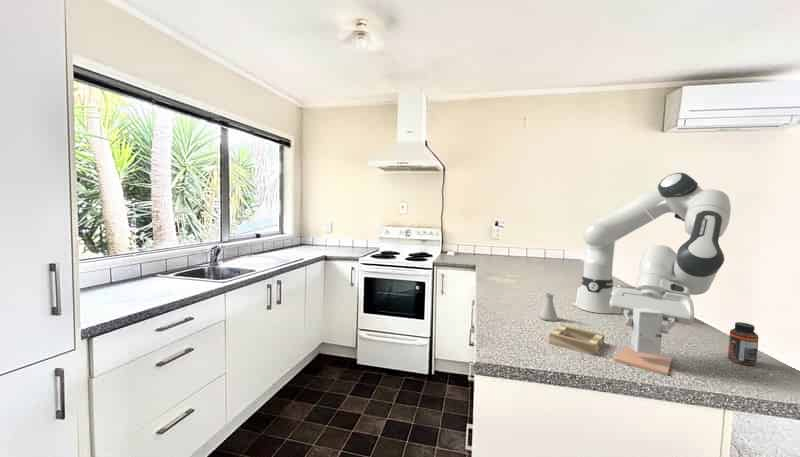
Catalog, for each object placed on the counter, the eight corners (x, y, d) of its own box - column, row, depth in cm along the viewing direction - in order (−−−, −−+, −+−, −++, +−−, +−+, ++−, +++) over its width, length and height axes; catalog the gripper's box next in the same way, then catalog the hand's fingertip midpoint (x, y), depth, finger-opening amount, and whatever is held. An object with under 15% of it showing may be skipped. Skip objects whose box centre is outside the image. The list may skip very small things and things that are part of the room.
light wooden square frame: (562, 333, 120) (562, 324, 120) (603, 343, 111) (604, 334, 111) (548, 343, 111) (549, 334, 110) (593, 355, 102) (594, 345, 102)
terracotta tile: (623, 348, 107) (623, 346, 107) (671, 360, 99) (672, 358, 99) (614, 361, 98) (614, 358, 98) (667, 375, 90) (667, 372, 90)
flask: (554, 316, 140) (555, 292, 139) (561, 322, 132) (562, 296, 132) (536, 315, 140) (537, 291, 140) (541, 321, 133) (543, 296, 133)
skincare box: (637, 353, 97) (639, 311, 96) (630, 347, 101) (632, 307, 100) (661, 355, 95) (664, 313, 95) (653, 349, 100) (655, 308, 99)
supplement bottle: (723, 356, 104) (726, 319, 103) (748, 359, 101) (751, 322, 101) (734, 364, 98) (737, 325, 97) (761, 368, 96) (764, 328, 95)
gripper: (612, 278, 110) (603, 314, 103) (696, 289, 96) (692, 331, 89) (614, 290, 113) (606, 325, 106) (695, 302, 99) (692, 343, 92)
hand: (646, 328), depth 98 cm, fingers closed on skincare box, 7 cm apart
